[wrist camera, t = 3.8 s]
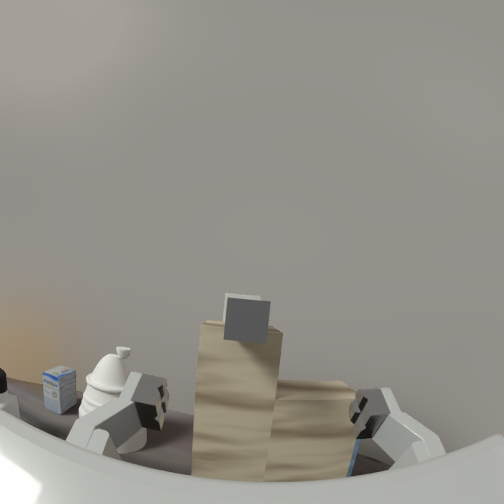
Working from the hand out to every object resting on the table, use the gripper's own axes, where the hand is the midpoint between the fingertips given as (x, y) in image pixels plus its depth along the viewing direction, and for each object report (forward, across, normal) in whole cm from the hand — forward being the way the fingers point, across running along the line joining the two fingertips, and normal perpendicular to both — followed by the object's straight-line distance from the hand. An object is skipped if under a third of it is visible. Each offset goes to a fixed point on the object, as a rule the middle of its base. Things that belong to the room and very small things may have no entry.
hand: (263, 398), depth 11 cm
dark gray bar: (+17, -1, -8) cm, 19 cm away
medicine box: (+22, -37, -42) cm, 60 cm away
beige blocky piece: (+5, +4, -32) cm, 33 cm away
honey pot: (+18, -22, -39) cm, 48 cm away
